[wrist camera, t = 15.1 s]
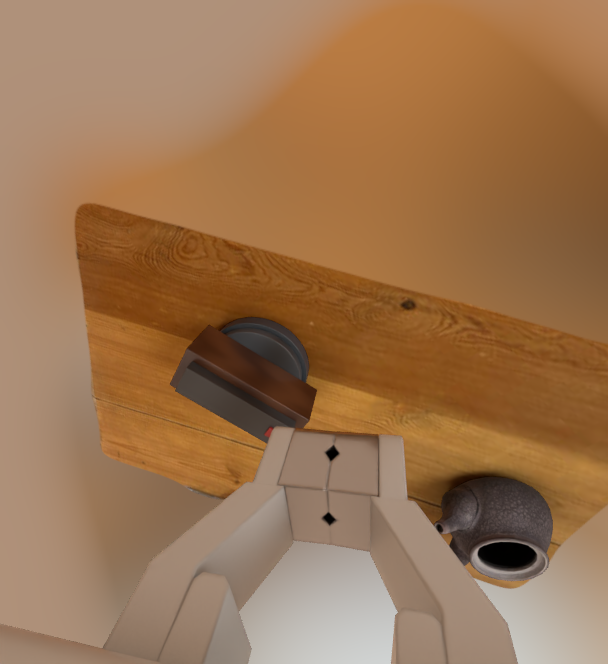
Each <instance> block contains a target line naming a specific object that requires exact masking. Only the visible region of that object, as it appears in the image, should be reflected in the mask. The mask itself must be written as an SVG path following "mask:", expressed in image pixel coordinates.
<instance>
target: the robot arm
mask: <svg viewBox="0 0 608 664" xmlns="http://www.w3.org/2000/svg"><path fill="white" fill-rule="evenodd" d="M293 540H295V541H303V542H312V543H321V544H329V545H335V546H341V547H346V548H353V549H358V550H363V551H369V552H370V554H371V557H372V559H373V561H374V563H375V565H376V567H377V569H378V571H379V573H380V576H381V578H382V580H383V582H384V584H385V586H386V588H387V590H388V592H389V595H390V597H391V599H392V601H393V603H394V605H395V607H396V609H397V611H398V613H397V614H396V615H395V625H394V636H393V648H392V660H391V664H518V662H517V658H516V654H515V651H514V647H513V643H512V639H511V635H510V631H509V628H508V624H507V622H506V621H505V620H504V619H503V617H502V616H501V614H500V613H499V612H498V610H497V609H496V608H495V607H494V605H493V604H492V603H491V601H490V600H489V599H488V597H487V596H486V595H485V593H484V592H483V591H482V589H481V588H480V587H479V585H478V584H477V583H476V581H475V580H474V579H473V577H472V576H471V575H470V573H469V572H468V571H467V569H466V568H465V567H464V565H463V564H462V563H461V561H460V560H459V559H458V557H457V556H456V555H455V553H454V552H453V551H452V549H451V548H450V547H449V546H448V544H447V543H446V542H445V540H444V539H443V538H442V536H441V535H440V534H439V532H438V531H437V530H436V528H435V527H434V526H433V524H432V523H431V522H430V520H429V519H428V518H427V516H426V515H425V514H424V512H423V511H422V510H421V508H420V507H419V506H418V504H417V503H416V502H415V501H410V500H408V499H407V486H406V472H405V459H404V446H403V438H402V436H396V435H381V434H366V433H351V432H333V431H323V430H314V429H304V428H290V427H281V426H276V427H275V428H274V429H273V430H272V432H271V435H270V437H269V440H268V443H267V445H266V448H265V451H264V453H263V456H262V459H261V461H260V464H259V467H258V469H257V472H256V475H255V477H254V480H253V482H246V483H244V484H243V485H242V486H241V487H239V488H238V489H237V490H236V491H235V492H233V493H232V494H231V495H230V496H229V497H227V498H226V499H225V500H224V501H222V502H221V503H220V504H219V505H218V506H216V507H215V508H214V509H213V510H211V511H210V512H209V513H208V514H207V515H205V516H204V517H203V518H202V519H200V520H199V521H198V522H197V523H196V524H194V525H193V526H192V527H191V528H190V529H188V530H187V531H186V532H185V533H183V534H182V535H181V536H180V537H178V538H177V539H176V540H175V541H174V542H172V543H171V544H170V545H169V546H168V547H166V548H165V549H164V550H163V551H161V552H160V553H159V554H158V555H156V556H155V557H154V558H153V559H152V560H151V561H150V563H149V565H148V566H147V568H146V570H145V572H144V574H143V576H142V577H141V579H140V581H139V583H138V585H137V586H136V588H135V590H134V592H133V594H132V596H131V598H130V599H129V601H128V603H127V605H126V606H125V608H124V610H123V612H122V614H121V615H120V617H119V619H118V621H117V623H116V625H115V627H114V628H113V630H112V632H111V634H110V635H109V637H108V639H107V641H106V643H105V645H104V647H103V648H98V647H94V646H90V645H86V644H82V643H78V642H74V641H70V640H65V639H61V638H57V637H53V636H49V635H45V634H41V633H37V632H32V631H29V630H24V629H20V628H16V627H12V626H8V625H4V624H0V664H248V661H249V657H250V653H251V646H250V643H249V640H248V637H247V634H246V632H245V629H244V626H243V623H242V620H241V617H240V614H239V611H240V609H241V608H242V607H243V606H244V604H245V603H246V602H247V601H248V599H249V598H250V597H251V596H252V594H253V593H254V592H255V590H256V589H257V588H258V587H259V586H260V584H261V583H262V582H263V581H264V579H265V578H266V576H268V574H269V573H270V572H271V570H272V569H273V568H274V567H275V566H276V564H277V563H278V562H279V560H280V559H281V558H282V557H283V555H284V554H285V553H286V552H287V550H288V549H289V548H290V547H291V545H292V544H293Z"/></svg>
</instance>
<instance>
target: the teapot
mask: <svg viewBox="0 0 608 664" xmlns="http://www.w3.org/2000/svg"><path fill="white" fill-rule="evenodd" d="M441 508H442V512H443V515H442V518H441V519H440V520H439V521H436V522H435V523H434V527H435V528H436V530H437V531H438V532H439V533H440V534H447V533H451V535H452V536H453V538H452V540H451V543H450V546H449V547H450V548H451V549H452V551H453V552H454V553H455V555H456V556H457V557H458V559H459V560H460V561H461V563H462V564H463V565H464V566H465V565H466V564H468V563H469V562H470V563H471V565H472V566H473V567H474V568H475V569H476V570H477V571H478V572H480V573H481V574H483V575H486V576H488V577H490V578H494V579H498V580H506V581H522V580H528V579H532V578H534V577H536V576H538V575H541V574H542V573H543V572H544V571H545V570H546V569H547V568H548V565H549V557H548V555H547V550H548V548H549V545H550V541H551V537H552V530H553V520H552V516H551V512H550V509H549V507H548V505H547V503H546V501H545V500H544V498H543V497H542V496H541V495H540V493H539V492H538V491H536V490H535V489H534V488H532V487H530V486H528V485H526V484H524V483H522V482H519V481H517V480H512V479H507V478H502V477H484V478H479V479H474V480H470V481H467V482H465V483H463V484H461V485H459V486H457V487H455V488H454V489H452V490H449V491H448V492H446V493H445V494H444V496H443V498H442V503H441Z"/></svg>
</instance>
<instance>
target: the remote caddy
mask: <svg viewBox="0 0 608 664" xmlns="http://www.w3.org/2000/svg"><path fill="white" fill-rule="evenodd" d="M170 385H171V386H173V387H175V388H176V390H175V391H176V392H178V393H180V394H181V395H183V396H185V397H187V398H188V399H190V400H192V401H194V402H195V403H197V404H199V405H201V406H202V407H204V408H206V409H208V410H209V411H211V412H213V413H215V414H216V415H218V416H220V417H222V418H223V419H225V420H227V421H229V422H230V423H232V424H234V425H236V426H237V427H239V428H241V429H243V430H244V431H246V432H248V433H250V434H251V435H253V436H255V437H257V438H258V439H260V440H262V441H264V442H265V443H268V440H269V437H270V435H271V432H272V430H273V429H274V428H275V427H276V426H281V427H290V428H303V427H304V426H305V425H306V424H307V423H308V422H309V420H310V416H311V412H312V408H313V404H314V400H315V396H316V392H317V390H316V389H315V388H313V387H311V386H310V385H308V384H306V383H305V382H303V381H302V369H301V365H300V362H299V359H298V357H297V356H296V354H295V352H294V351H293V350H292V348H291V347H290V346H289V345H288V344H287V343H286V342H284V341H283V340H282V339H280V338H279V337H278V336H276V335H274V334H272V333H270V332H267V331H264V330H261V329H255V328H240V329H236V330H233V331H230V332H228V333H226V334H223V333H222V332H220V331H218V330H217V329H215V328H213V327H212V326H210V325H208V326H207V327H206V329H205V330H204V331H203V332H202V333H201V334H200V335H199V336H198V337H197V338H196V339H195V340H194V341H193V343H192V344H191V345H190V346H189V347H188V348H187V349H186V352H185V354H184V356H183V358H182V360H181V362H180V364H179V366H178V368H177V370H176V372H175V374H174V376H173V379H172V381H171V383H170Z"/></svg>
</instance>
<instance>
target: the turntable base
mask: <svg viewBox="0 0 608 664" xmlns="http://www.w3.org/2000/svg"><path fill="white" fill-rule="evenodd" d="M240 328H255V329H261V330H264V331H267V332H270V333H272V334H274V335H276V336H278V337H279V338H280V339H282V340H283V341H284V342H286V343H287V344H288V345H289V346H290V347H291V348H292V350H293V351H294V352H295V354H296V356H297V357H298V359H299V362H300V365H301V369H302V381H303V382H305V383H306V380H307V376H308V372H309V362H308V357H307V354H306V351H305V349H304V347H303V345H302V344H301V342H300V341H299V340H298V339H297V337H296V336H295V335H294V334H293V333H292V332H290V331H289V330H288V329H286V328H285V327H283V326H282V325H280V324H278V323H276V322H273V321H271V320H267V319H263V318H256V317H248V318H241V319H238V320H235V321H233V322H231V323H229V324H227V325H226V326H225V327H224V328H223V329H222V330H221V331H220V332H222V333H223V334H226V333H228V332H230V331H233V330H236V329H240Z"/></svg>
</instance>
